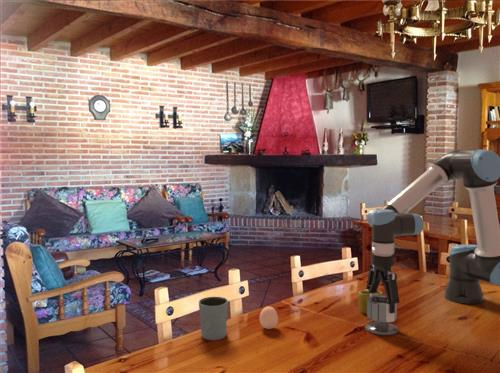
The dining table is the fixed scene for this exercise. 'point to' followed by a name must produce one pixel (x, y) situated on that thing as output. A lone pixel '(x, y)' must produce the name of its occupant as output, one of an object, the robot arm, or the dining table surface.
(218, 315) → the grey cup
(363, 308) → the mug
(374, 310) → the ring
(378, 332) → the piston post
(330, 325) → the dining table surface
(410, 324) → the dining table surface
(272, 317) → the egg
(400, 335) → the dining table surface
